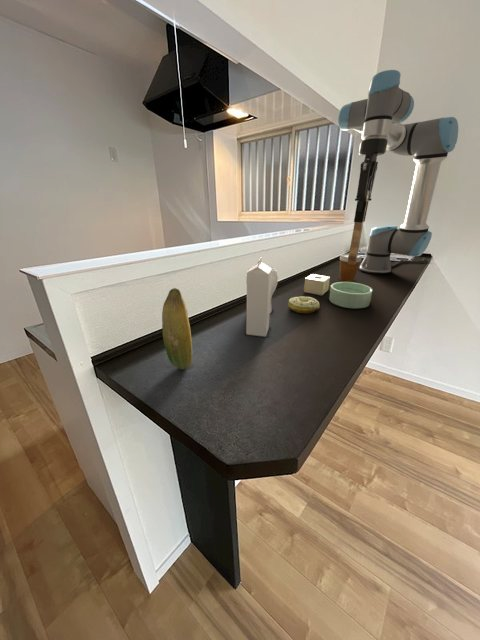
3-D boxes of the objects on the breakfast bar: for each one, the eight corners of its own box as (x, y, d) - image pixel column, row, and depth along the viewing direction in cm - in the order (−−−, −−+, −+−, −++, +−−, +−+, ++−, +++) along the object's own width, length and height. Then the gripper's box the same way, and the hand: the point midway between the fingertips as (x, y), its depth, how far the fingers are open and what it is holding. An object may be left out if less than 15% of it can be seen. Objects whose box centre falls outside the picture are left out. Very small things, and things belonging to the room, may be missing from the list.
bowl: (334, 293, 111) (337, 279, 108) (372, 300, 103) (375, 285, 101) (323, 304, 100) (326, 289, 97) (364, 313, 92) (368, 296, 90)
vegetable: (199, 371, 62) (192, 291, 53) (173, 381, 59) (162, 297, 50) (189, 359, 66) (181, 283, 58) (164, 367, 63) (152, 288, 55)
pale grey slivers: (273, 305, 99) (275, 265, 93) (278, 316, 90) (280, 273, 83) (245, 305, 99) (245, 265, 92) (246, 317, 89) (247, 274, 83)
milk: (246, 334, 78) (246, 260, 69) (250, 325, 84) (250, 256, 74) (266, 337, 77) (269, 261, 67) (269, 327, 82) (272, 256, 73)
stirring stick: (348, 262, 98) (361, 190, 87) (355, 263, 96) (369, 190, 86) (347, 264, 96) (359, 190, 86) (354, 264, 95) (368, 190, 84)
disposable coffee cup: (335, 282, 125) (339, 256, 120) (336, 277, 133) (340, 253, 128) (356, 284, 122) (362, 258, 116) (357, 279, 129) (362, 254, 124)
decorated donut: (324, 312, 93) (326, 302, 92) (299, 317, 89) (300, 306, 88) (306, 302, 102) (307, 292, 100) (283, 306, 98) (283, 296, 96)
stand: (310, 287, 119) (312, 274, 116) (328, 290, 114) (330, 276, 112) (303, 291, 113) (305, 278, 110) (322, 295, 108) (324, 281, 106)
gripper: (366, 144, 88) (353, 219, 98) (355, 136, 76) (341, 222, 86) (391, 142, 84) (375, 220, 94) (383, 133, 72) (366, 224, 82)
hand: (359, 221), depth 90 cm, fingers closed on stirring stick, 2 cm apart
